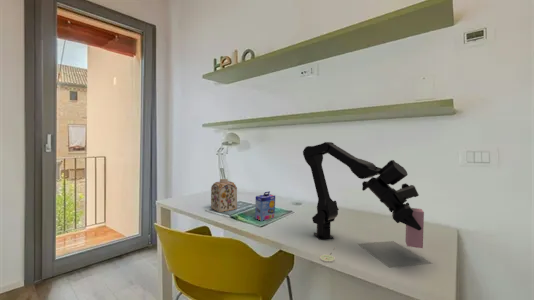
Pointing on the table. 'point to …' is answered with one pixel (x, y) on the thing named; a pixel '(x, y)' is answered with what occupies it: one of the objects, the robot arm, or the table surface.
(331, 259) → the sign
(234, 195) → the decorative jar
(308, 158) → the robot arm
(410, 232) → the pink box
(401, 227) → the table surface
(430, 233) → the table surface
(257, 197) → the ink cartridge box
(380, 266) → the table surface
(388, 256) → the mat
